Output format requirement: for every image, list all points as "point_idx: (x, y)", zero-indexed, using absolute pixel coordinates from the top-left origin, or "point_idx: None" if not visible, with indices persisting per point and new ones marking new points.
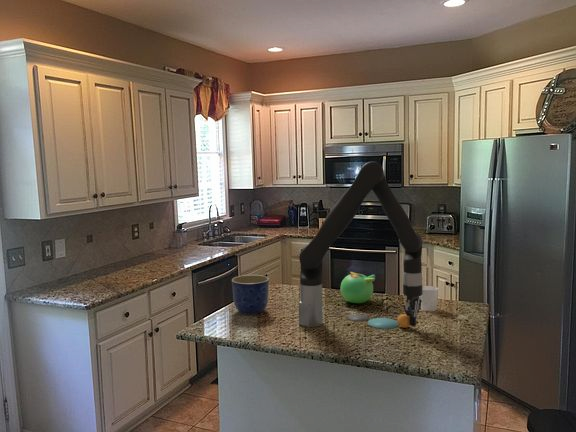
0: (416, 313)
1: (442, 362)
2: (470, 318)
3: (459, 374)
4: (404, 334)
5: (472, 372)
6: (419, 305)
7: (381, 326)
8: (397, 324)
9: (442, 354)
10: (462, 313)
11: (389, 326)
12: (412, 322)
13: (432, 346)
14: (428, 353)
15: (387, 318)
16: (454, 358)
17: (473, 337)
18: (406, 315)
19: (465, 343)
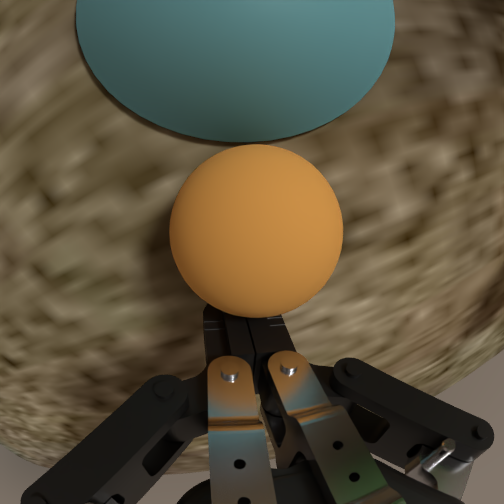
0: (279, 419)
1: (12, 433)
2: (460, 365)
3: (9, 450)
4: (82, 275)
5: (39, 464)
6: (387, 455)
7: (127, 11)
8: (280, 119)
9: (49, 435)
10: (499, 326)
11: (169, 73)
12: (204, 342)
13: (71, 414)
14: (13, 409)
15: (392, 1)
16: (59, 451)
17: (274, 451)
18: (262, 306)
19: (197, 457)
